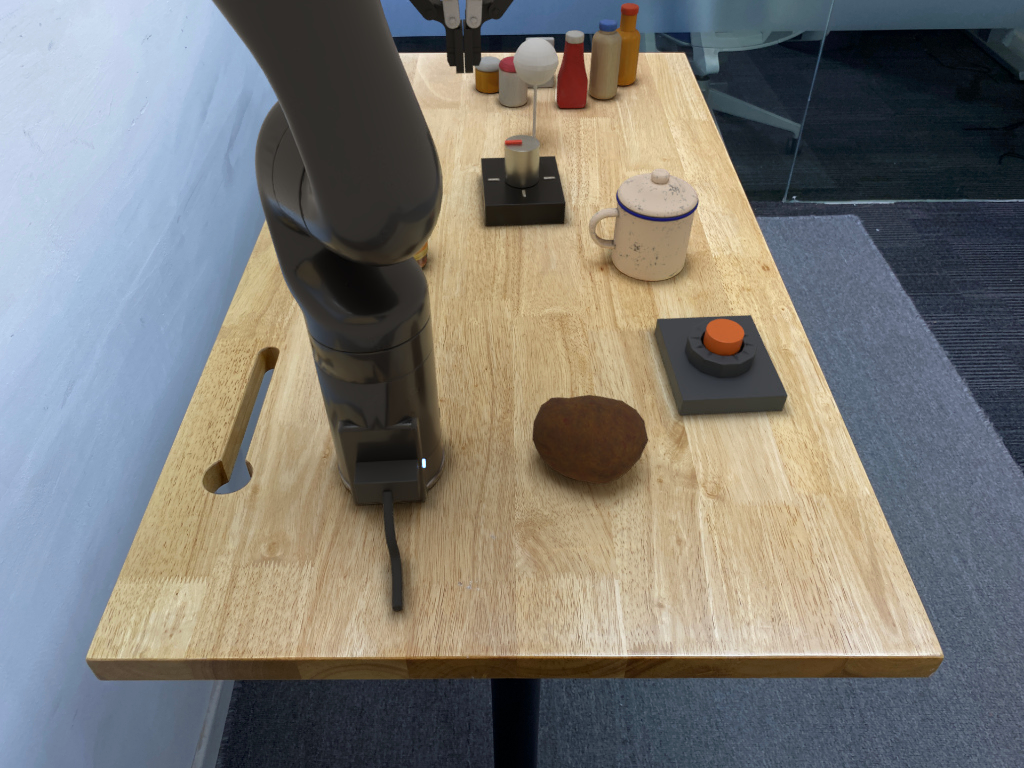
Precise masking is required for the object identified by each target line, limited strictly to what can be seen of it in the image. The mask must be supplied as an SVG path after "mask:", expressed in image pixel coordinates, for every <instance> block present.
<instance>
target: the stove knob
mask: <svg viewBox="0 0 1024 768" xmlns="http://www.w3.org/2000/svg"><path fill="white" fill-rule="evenodd" d="M503 146H504V158H505V182H506V183H507V184H509V185H510V186H513V187H518V188H526V187H531V186H533V185H535V184H536V183H537V182H538V180H539V157H540V152H541V151H540V150H541V143H540V140H539V138H537V137H536V138H535V137H533V135H529V134H515V135H512V136H509V137H507V138H506V139H505V140H504V145H503Z"/></svg>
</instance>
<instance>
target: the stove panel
mask: <svg viewBox="0 0 1024 768" xmlns="http://www.w3.org/2000/svg"><path fill="white" fill-rule="evenodd" d="M559 171H560V170H559V167H558V163H557V159H556V155H548V156H546V155H544V156H543V155H541V156H540V155H539V180H538V182H537V183H536V184H535V185H533V186H531V187H526V188H518V187H513V186H510V185H509V184H507V183H506V182H505V157H481V158H480V173H481V175H480V177H481V187H482V188H481V189H482V202H483V213H484V226H485V227H504V226H530V225H531V226H534V225H561V224H562V225H565V222H566V221H565V220H566V199H565V194H564V190H563V189H564V188H563V185H562V180H561V176H560V172H559Z"/></svg>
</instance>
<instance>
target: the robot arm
mask: <svg viewBox="0 0 1024 768" xmlns="http://www.w3.org/2000/svg"><path fill="white" fill-rule="evenodd" d="M408 1H409V2H410V3H411V5H412V6H413V7H414V8H415V10H416V11H417V12H418V13H419V14H420V15H421V17H422V18H423V19H424V20H425V21H429V22H430V21H435V22H438V23H440V24H441V25H442V26H443V27H444V31H445V45H446V61H447V63H448V65H449V67H450V68H451V67H452V68H453V67H455V74H457V75H458V74H474V67H475V66H479V65H480V62H481V57H482V32H481V31H482V26H483V25H484V23H486V22H488V21H490V20H500V19H501V18H502V17H503V16H504V15H505V13H506V12H507V10H508V9H509V8H510V6H511V5H512V4H513V2H514V1H515V0H465V8H464V18H463V19H461V13H460V10H461V9H460V2H459V0H408ZM211 2H212V3H213V4H214V6H215V7H216V9H217V10H218V11H219V12H220V14H221V15H222V16H223V18H224V19H225V20H226V22H227V23H228V25H229V26H230V27H231V29H232V30H233V31H234V33H235V34H236V35H237V36H238V38H239V39H240V40H241V42H242V43H243V45H244V46H245V47H246V49H247V50H248V52H249V53H250V55H251V56H252V57H253V59H254V60H255V62H256V64H257V65H258V66H259V68H260V70H261V71H262V72H263V73H262V74H264V76H265V78H266V80H267V82H268V83H269V85H270V87H271V89H272V91H273V93H274V95H275V97H276V99H277V101H276V102H275V103H274V104H273V105H272V106H271V108H270V109H269V111H268V112H267V114H266V115H265V117H264V118H263V121H262V123H261V126H260V128H259V131H258V134H257V138H256V143H255V149H254V173H255V180H256V186H257V191H258V195H259V200H260V204H261V207H262V212H263V215H264V218H265V221H266V225H267V228H268V231H269V235H270V239H271V242H272V244H273V249H274V252H275V255H276V258H277V261H278V265H279V268H280V271H281V275H282V277H283V280H284V282H285V285H286V287H287V289H288V290H289V293H290V294H291V296H292V297H293V299H294V300H295V302H296V304H297V305H298V307H299V308H300V311H301V313H302V316H303V320H304V324H305V328H306V332H307V336H308V340H309V345H310V349H311V353H312V358H313V362H314V367H315V370H316V376H317V379H318V384H319V389H320V392H321V396H322V401H323V405H324V409H325V414H326V417H327V421H328V425H329V431H330V434H331V438H332V443H333V447H334V450H335V451H334V452H335V454H336V455H335V456H336V459H337V468H338V472H339V476H340V479H341V481H342V483H343V485H344V486H345V488H346V489H347V491H349V492H350V493H351V496H352V501H353V505H355V506H361V505H362V506H364V505H381V504H382V512H383V513H382V514H383V515H382V517H383V526H384V528H383V529H384V537H385V542H386V546H387V550H388V554H389V560H390V567H391V589H392V590H391V609H392V611H394V612H400V611H402V610H404V609H403V608H404V601H403V598H404V597H403V568H402V559H401V552H400V549H399V545H398V541H397V535H396V525H395V515H394V514H395V511H394V504H401V503H403V504H404V503H419V502H420V503H421V502H426V501H427V499H428V497H427V496H428V491H429V490H430V489H431V488H432V487H433V486H434V485H435V484H436V483H437V482H438V480H440V477H441V475H442V473H443V471H444V469H445V464H446V453H445V446H444V444H443V433H442V423H441V408H440V404H439V403H440V402H439V401H440V400H439V391H438V390H439V388H438V379H437V368H436V366H437V365H436V357H435V356H436V355H435V345H434V332H433V321H432V309H431V297H430V288H429V282H428V279H427V276H426V273H425V272H424V270H423V267H422V268H421V266H420V265H419V264H418V262H417V261H416V259H415V258H414V257H413V256H414V255H415V254H416V253H418V252H419V251H420V250H421V248H422V247H423V246H424V245H425V244H426V242H427V241H428V242H429V239H430V238H431V236H432V235H433V233H434V230H435V228H436V226H437V223H438V221H439V217H440V214H441V210H442V202H443V197H444V187H443V186H444V183H443V181H444V179H443V171H442V170H443V169H442V165H441V160H440V155H439V152H438V149H437V146H436V143H435V141H434V138H433V135H432V133H431V129H430V128H429V125H428V123H427V120H426V118H425V115H424V113H423V111H422V109H421V106H420V103H419V100H418V98H417V96H416V93H415V91H414V87H413V86H412V82H411V80H410V78H409V76H408V73H407V71H406V69H405V66H404V63H403V60H402V57H401V56H400V53H399V51H398V48H397V45H396V43H395V41H394V37H393V35H392V32H391V29H390V26H389V23H388V21H387V17H386V14H385V11H384V8H383V5H382V2H381V0H211Z"/></svg>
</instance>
